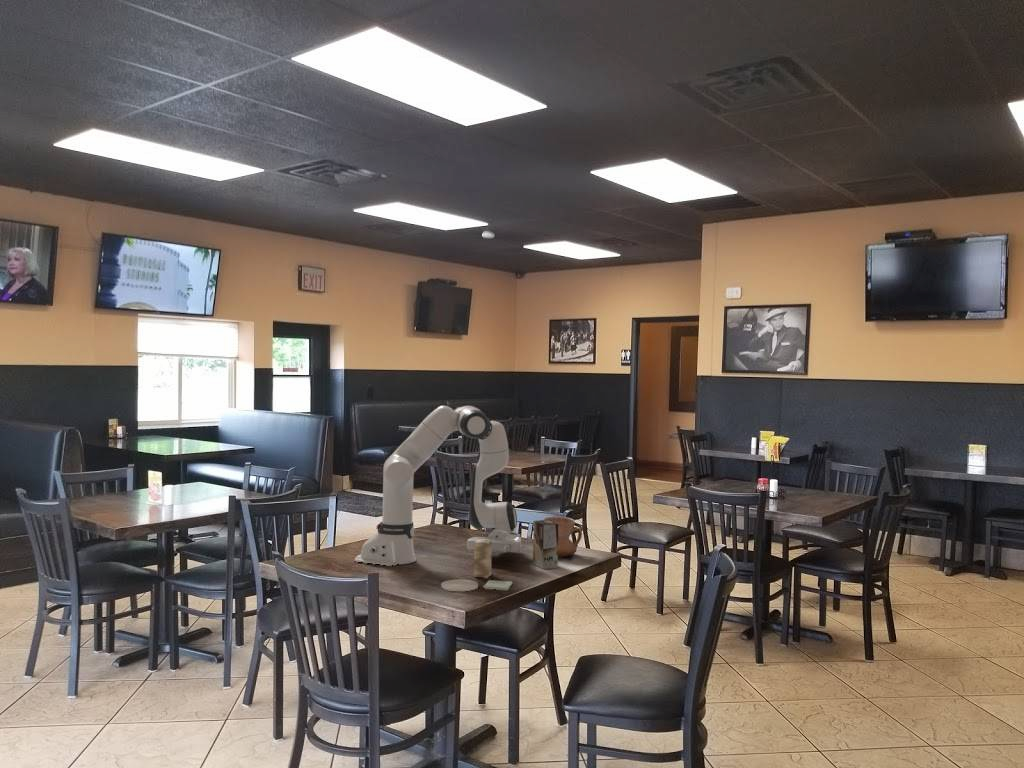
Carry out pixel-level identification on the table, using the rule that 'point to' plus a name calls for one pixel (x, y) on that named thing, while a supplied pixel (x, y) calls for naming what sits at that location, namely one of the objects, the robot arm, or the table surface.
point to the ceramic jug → (566, 535)
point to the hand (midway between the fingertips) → (490, 549)
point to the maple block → (482, 558)
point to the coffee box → (545, 544)
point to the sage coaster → (497, 585)
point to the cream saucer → (459, 585)
